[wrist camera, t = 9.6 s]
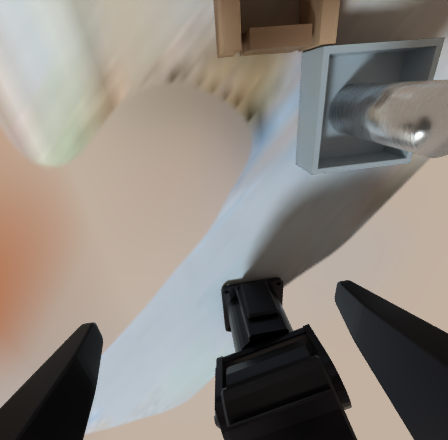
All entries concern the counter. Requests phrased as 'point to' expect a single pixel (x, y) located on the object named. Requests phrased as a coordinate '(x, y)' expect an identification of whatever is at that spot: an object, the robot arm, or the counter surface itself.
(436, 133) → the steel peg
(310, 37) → the socket block
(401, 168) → the counter surface
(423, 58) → the tray
